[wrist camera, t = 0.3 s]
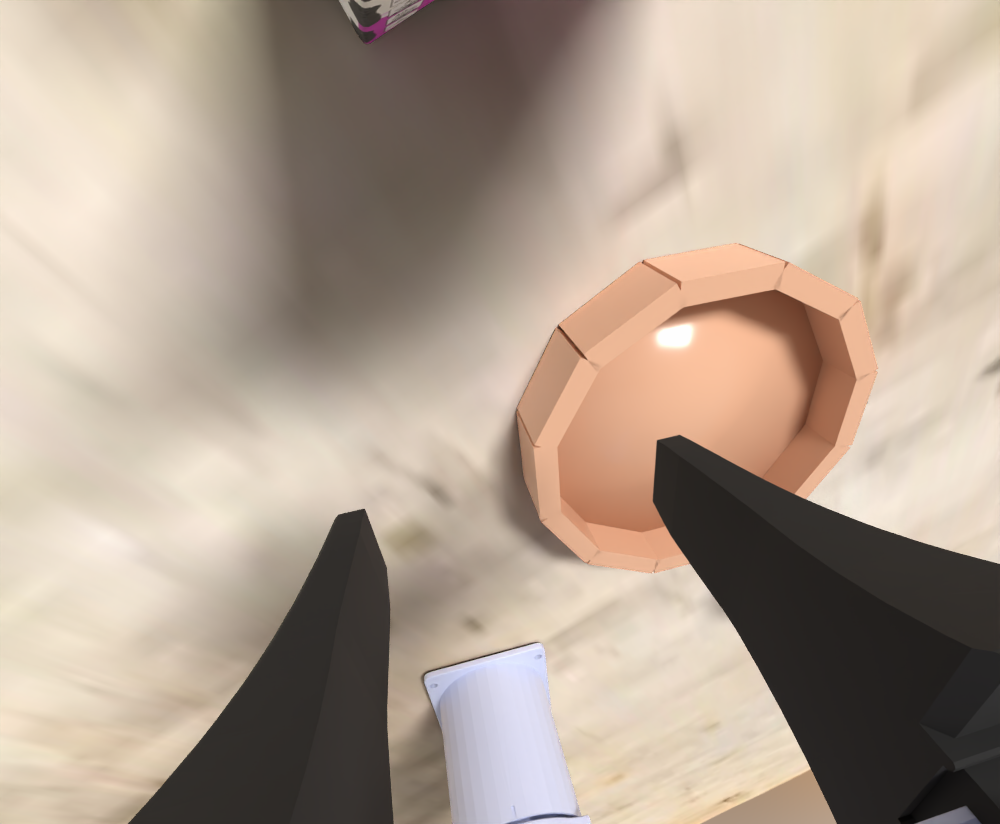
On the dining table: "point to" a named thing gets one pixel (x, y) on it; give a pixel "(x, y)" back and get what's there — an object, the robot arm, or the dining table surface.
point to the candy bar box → (379, 15)
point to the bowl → (689, 392)
